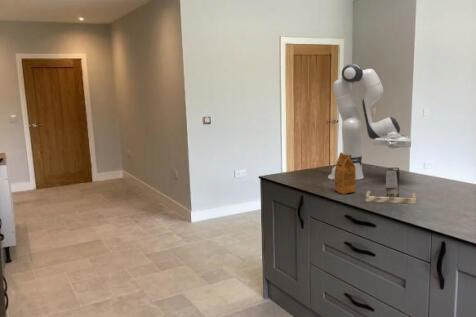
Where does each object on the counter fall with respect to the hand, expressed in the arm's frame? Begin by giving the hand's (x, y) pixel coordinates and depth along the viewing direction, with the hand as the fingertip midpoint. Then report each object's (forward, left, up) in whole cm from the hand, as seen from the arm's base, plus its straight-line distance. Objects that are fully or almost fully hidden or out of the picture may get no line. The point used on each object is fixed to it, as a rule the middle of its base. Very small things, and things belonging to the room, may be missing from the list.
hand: (391, 144), depth 239 cm
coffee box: (+1, -26, -25) cm, 37 cm away
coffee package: (-24, -14, -25) cm, 38 cm away
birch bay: (+1, -27, -25) cm, 36 cm away
